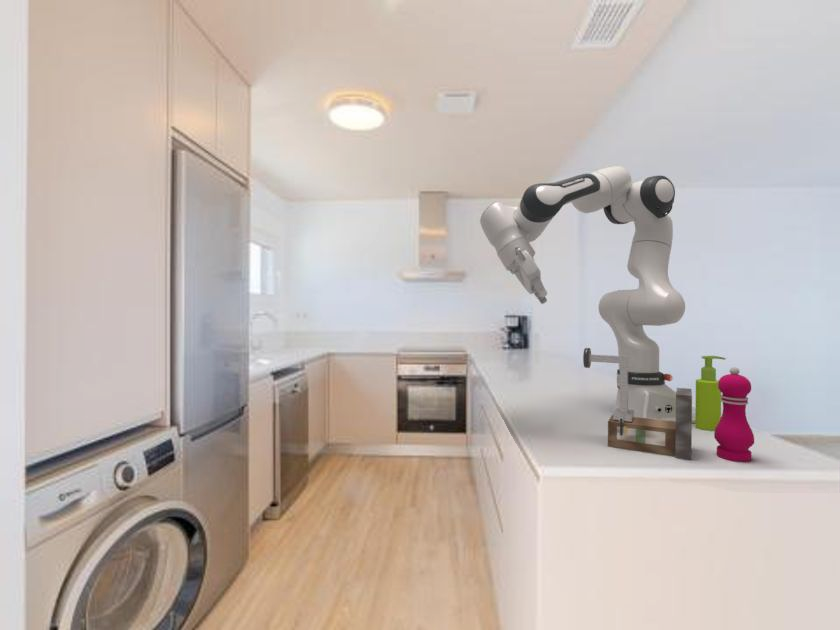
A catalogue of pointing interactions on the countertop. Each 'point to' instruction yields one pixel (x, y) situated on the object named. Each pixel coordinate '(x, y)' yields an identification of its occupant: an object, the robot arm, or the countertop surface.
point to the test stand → (658, 431)
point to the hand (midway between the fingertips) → (544, 299)
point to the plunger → (623, 412)
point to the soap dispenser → (708, 397)
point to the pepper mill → (734, 418)
